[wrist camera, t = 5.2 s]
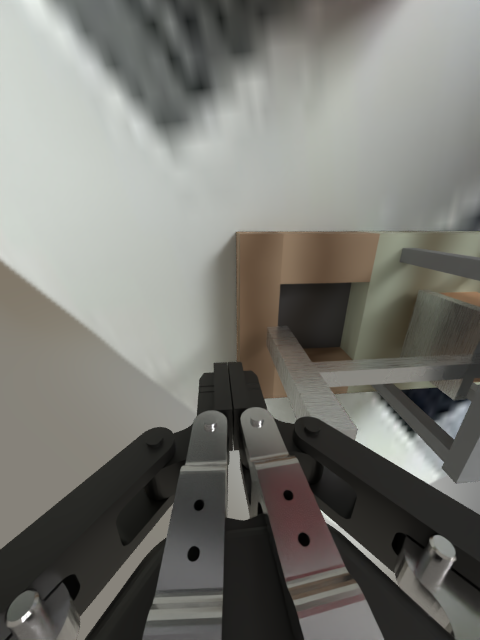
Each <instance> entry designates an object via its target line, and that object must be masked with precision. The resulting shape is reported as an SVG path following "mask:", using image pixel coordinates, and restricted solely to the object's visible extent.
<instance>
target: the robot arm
mask: <svg viewBox="0 0 480 640" xmlns="http://www.w3.org/2000/svg"><path fill="white" fill-rule="evenodd" d="M233 445H234V450H239V453H240V469H241V474H242V479H243V484H244V489H245V494H246V500H247V504H248V509H249V515H250V519H248V520H245V521H243V520H235V519H230V518H227V515H228V514H227V512H228V509H227V508H228V465H229V451H232V450H233ZM173 503H174V504H173ZM172 504H173V509H172V514H171V519H170V524H169V529H168V534H167V538H165V539H164V540H163V541H161V542H160V543H159V544H158V545H156V546H155V547H154V548H153V549H152V550H151V551H150V552H149V553H148V554H147V556H146V557H145V558H144V559H143V560H142V562H141V563H140V564H139V566H138V567H137V568H136V570H135V571H134V573H133V574H132V575H131V577H130V578H129V579H128V581H127V582H126V584H125V585H124V586H123V588H122V589H121V590H120V592H119V593H118V594H117V596H116V597H115V599H114V600H113V601H112V603H111V604H110V605H109V607H108V608H107V609H106V611H105V612H104V614H103V615H102V616H101V618H100V619H99V620H98V622H97V623H96V625H95V626H94V627H93V629H92V630H91V632H90V633H89V634H88V635H87V637H86V638H85V640H480V515H479V514H477V513H476V512H474V511H472V510H471V509H469V508H467V507H466V506H464V505H462V504H460V503H459V502H457V501H455V500H454V499H452V498H450V497H449V496H447V495H446V494H444V493H442V492H440V491H439V490H437V489H435V488H434V487H432V486H430V485H429V484H427V483H425V482H424V481H422V480H420V479H419V478H417V477H415V476H414V475H412V474H410V473H409V472H407V471H405V470H404V469H402V468H400V467H399V466H397V465H395V464H394V463H392V462H390V461H388V460H387V459H385V458H383V457H382V456H380V455H378V454H377V453H375V452H373V451H372V450H370V449H368V448H367V447H365V446H363V445H362V444H360V443H358V442H357V441H355V440H353V439H352V438H350V437H348V436H347V435H345V434H343V433H342V432H340V431H338V430H336V429H335V428H333V427H331V426H330V425H328V424H326V423H325V422H323V421H321V420H320V419H318V418H315V417H310V416H305V417H301V418H299V419H297V420H296V422H295V424H291V423H285V422H281V421H278V420H276V419H275V418H273V416H272V414H271V413H270V412H269V411H268V410H267V407H266V404H265V400H264V397H263V394H262V390H261V387H260V384H259V380H258V377H257V375H256V374H255V373H254V372H253V371H252V370H249V371H243V366H242V362H228V365H227V362H225V363H214V373H204V374H203V375H202V377H201V378H200V380H199V394H198V408H197V417H196V418H195V419H194V422H193V424H192V425H191V426H190V427H188V428H186V429H184V430H182V431H179V432H176V433H174V434H173V433H172V431H171V430H169V429H167V428H163V427H157V428H152V429H150V430H148V431H146V432H144V433H143V434H142V435H141V436H139V437H138V438H137V439H136V440H134V441H133V442H132V443H131V444H130V445H128V446H127V447H126V448H125V449H123V450H122V451H121V452H120V453H118V454H117V455H116V456H115V457H114V458H112V459H111V460H110V461H109V462H107V463H106V464H105V465H104V466H103V467H101V468H100V469H99V470H98V471H96V472H95V473H94V474H93V475H91V476H90V477H89V478H88V479H86V480H85V481H84V482H83V483H82V484H80V485H79V486H78V487H77V488H76V489H74V490H73V491H72V492H71V493H69V494H68V495H67V496H66V497H64V498H63V499H62V500H61V501H59V502H58V503H57V504H56V505H55V506H53V507H52V508H51V509H50V510H49V511H47V512H46V513H45V514H44V515H42V516H41V517H40V518H39V519H38V520H36V521H35V522H34V523H33V524H31V525H30V526H29V527H28V528H26V529H25V530H24V531H23V532H21V533H20V534H19V535H18V536H17V537H15V538H14V539H13V540H12V541H10V542H9V543H8V544H7V545H6V546H4V547H3V548H2V549H1V550H0V640H77V637H78V634H79V629H80V616H81V615H82V613H83V612H84V611H85V610H86V608H87V607H88V606H89V605H90V604H91V603H92V601H93V600H94V599H95V598H96V596H97V595H98V594H99V593H100V592H101V590H102V589H103V588H104V587H105V585H106V584H107V583H108V582H109V581H110V579H111V578H112V577H113V576H114V574H115V573H116V572H117V571H118V570H119V568H120V567H121V566H122V565H123V563H124V562H125V561H126V560H127V559H128V557H129V556H130V555H131V554H132V553H133V551H134V550H135V549H136V548H137V546H138V545H139V544H140V543H141V542H142V540H143V539H144V538H145V536H146V535H147V534H148V533H149V532H150V531H151V529H152V528H153V527H154V526H155V524H156V523H157V522H158V521H159V520H160V518H161V517H162V516H163V515H164V514H165V512H166V511H167V510H168V508H169V507H170V506H171V505H172ZM320 510H322V511H323V512H324V513H325V514H326V515H327V516H329V517H330V518H331V519H332V520H333V521H334V522H336V523H337V524H338V525H339V526H340V527H341V528H343V529H344V530H345V531H346V532H347V533H348V534H350V535H351V536H352V537H353V538H354V539H355V540H356V541H358V542H359V543H360V544H361V545H362V546H363V547H365V548H366V549H367V550H368V551H369V552H371V553H372V554H373V555H374V556H375V557H376V558H377V559H379V560H380V561H381V562H382V563H383V564H384V565H386V566H387V567H388V568H389V569H390V570H391V571H393V572H394V573H395V576H396V580H397V582H398V585H399V586H398V585H396V584H395V583H394V582H393V581H392V580H391V579H390V578H389V577H388V576H387V575H386V574H385V573H384V572H382V571H381V570H380V569H379V568H378V567H377V566H376V565H375V564H374V563H373V562H372V561H371V560H369V559H368V558H367V557H366V556H365V555H364V554H363V553H362V552H361V551H360V550H358V548H356V547H355V546H354V545H353V544H352V543H351V542H350V541H349V540H348V539H347V538H346V537H345V536H343V535H342V534H341V533H340V532H339V531H337V530H336V529H335V528H333V527H332V526H330V525H329V524H327V523H326V522H325V520H324V518H323V515H322V513H321V511H320Z"/></svg>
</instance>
